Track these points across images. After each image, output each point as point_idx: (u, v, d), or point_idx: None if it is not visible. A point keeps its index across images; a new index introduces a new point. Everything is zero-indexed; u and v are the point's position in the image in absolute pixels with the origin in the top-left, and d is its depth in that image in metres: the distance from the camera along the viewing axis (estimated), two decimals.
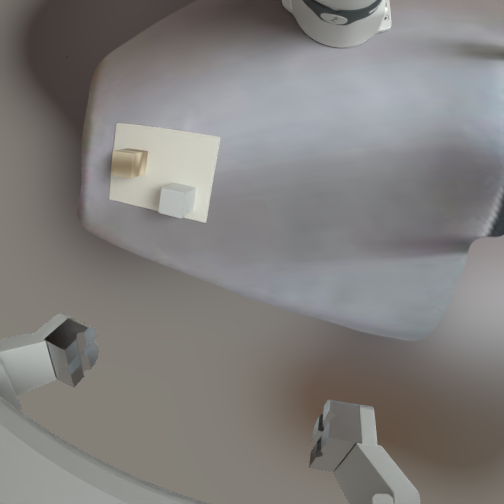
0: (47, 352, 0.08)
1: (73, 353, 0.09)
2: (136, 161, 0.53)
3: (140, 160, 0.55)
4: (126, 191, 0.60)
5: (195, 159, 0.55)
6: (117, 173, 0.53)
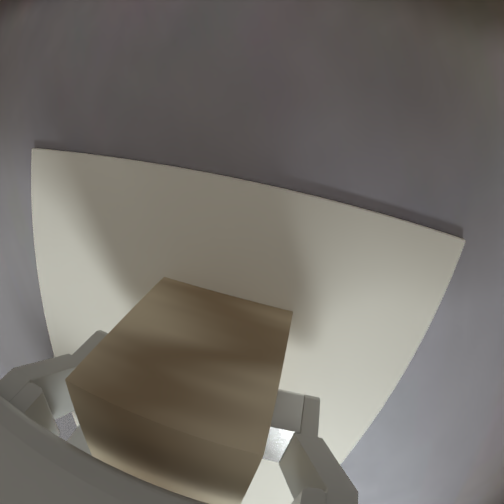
0: None
1: None
2: None
3: None
4: (73, 259, 0.12)
5: None
6: (92, 427, 0.06)
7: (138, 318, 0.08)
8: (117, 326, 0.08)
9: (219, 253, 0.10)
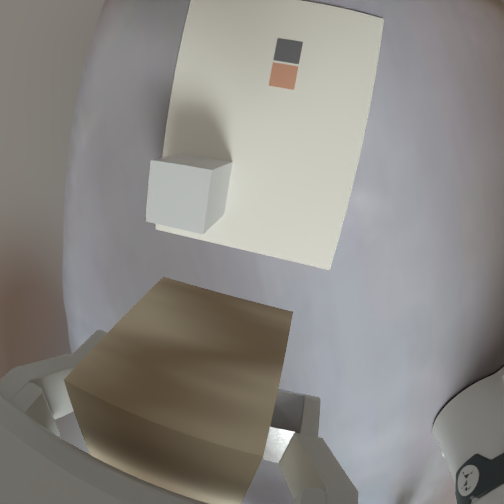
0: None
1: None
2: None
3: None
4: (210, 35, 0.22)
5: (285, 214, 0.26)
6: (91, 428, 0.06)
7: (137, 318, 0.08)
8: (116, 326, 0.08)
9: (288, 23, 0.20)
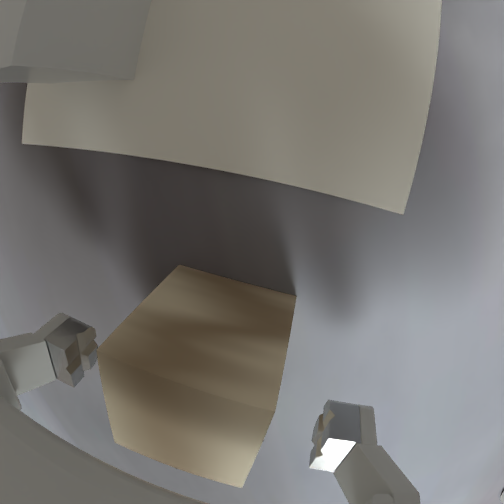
0: (47, 352, 0.08)
1: (73, 353, 0.09)
2: None
3: None
4: None
5: (282, 60, 0.08)
6: (117, 397, 0.08)
7: (159, 298, 0.10)
8: (141, 305, 0.09)
9: None
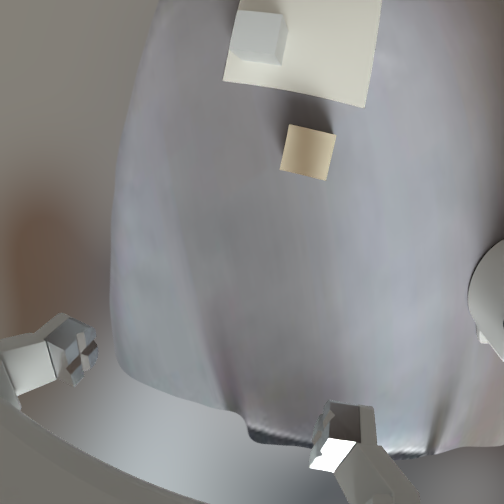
0: (47, 352, 0.08)
1: (73, 353, 0.09)
2: None
3: None
4: None
5: (328, 65, 0.30)
6: (290, 141, 0.29)
7: None
8: None
9: None
